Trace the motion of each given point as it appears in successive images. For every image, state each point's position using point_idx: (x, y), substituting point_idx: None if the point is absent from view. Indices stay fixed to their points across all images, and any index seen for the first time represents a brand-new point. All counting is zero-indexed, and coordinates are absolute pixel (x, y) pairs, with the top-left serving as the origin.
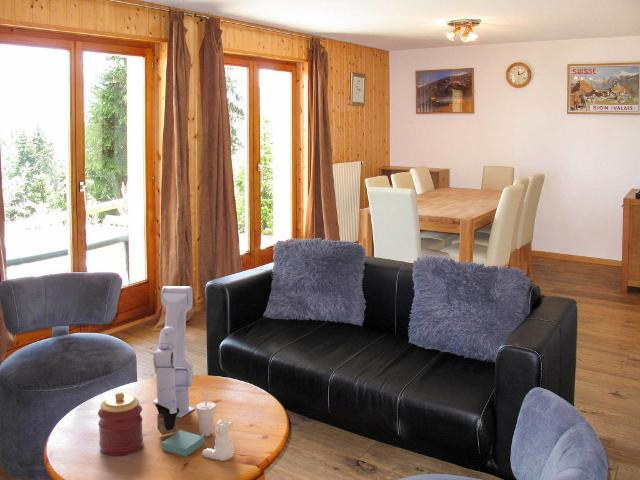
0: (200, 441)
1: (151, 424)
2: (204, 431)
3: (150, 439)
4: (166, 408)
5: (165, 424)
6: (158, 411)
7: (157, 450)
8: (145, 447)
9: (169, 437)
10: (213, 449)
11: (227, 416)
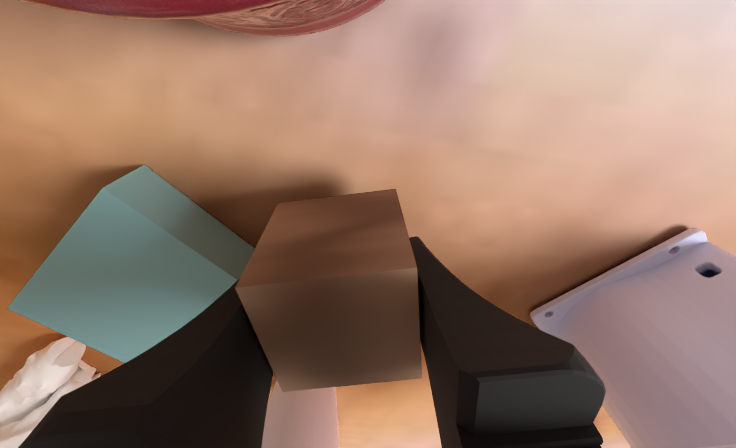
0: None
1: (563, 155)
2: (273, 388)
3: (328, 109)
4: (435, 382)
5: (232, 285)
6: (444, 298)
7: (137, 130)
8: (195, 43)
9: (189, 246)
10: (19, 404)
11: (431, 435)
